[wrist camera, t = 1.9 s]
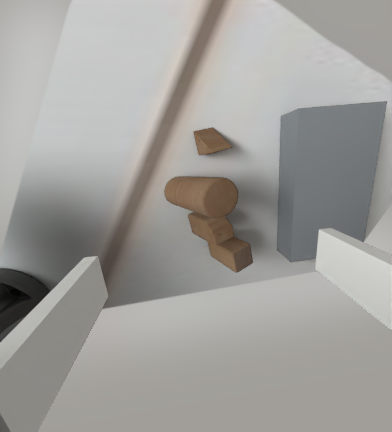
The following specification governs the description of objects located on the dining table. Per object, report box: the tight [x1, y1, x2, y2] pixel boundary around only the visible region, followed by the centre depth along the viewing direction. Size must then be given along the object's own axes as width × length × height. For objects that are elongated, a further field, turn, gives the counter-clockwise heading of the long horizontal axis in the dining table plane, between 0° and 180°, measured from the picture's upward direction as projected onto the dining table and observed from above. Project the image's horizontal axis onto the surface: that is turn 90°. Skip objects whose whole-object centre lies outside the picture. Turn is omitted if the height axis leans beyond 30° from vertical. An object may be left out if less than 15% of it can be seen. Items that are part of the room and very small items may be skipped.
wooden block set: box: [164, 128, 253, 273], centre depth 24 cm, size 18×9×10 cm, turn 14°
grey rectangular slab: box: [277, 101, 387, 262], centre depth 27 cm, size 11×20×4 cm, turn 5°
